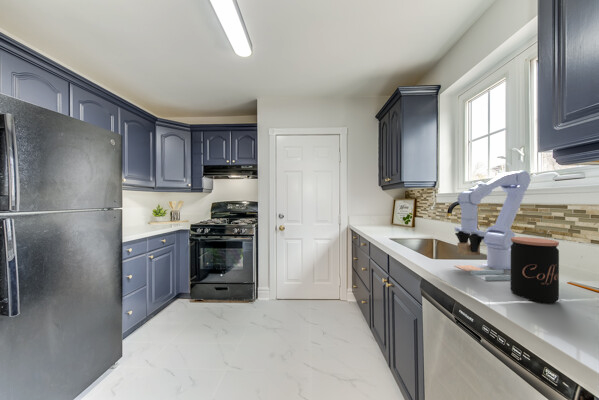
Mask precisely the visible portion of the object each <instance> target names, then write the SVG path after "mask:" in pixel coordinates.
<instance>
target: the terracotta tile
mask: <svg viewBox="0 0 599 400" xmlns="http://www.w3.org/2000/svg"><path fill="white" fill-rule="evenodd" d="M454 267H455V268H458V269H460V270H462V271H464V272H471V271H472V270H484V268H483V269H482V268H479V267H477V266H474V265H472V264H471V265H470V264H469V265H454Z"/></svg>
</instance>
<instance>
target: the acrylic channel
mask: <svg viewBox="0 0 599 400" xmlns="http://www.w3.org/2000/svg"><path fill="white" fill-rule="evenodd" d="M504 270H505V269H483V270H472V271H470V275H471V276H473V277H477V278H478V279H480V280H484V281H511V274H510V275H506V274H505V275H503V274H504V273H505V272H504Z"/></svg>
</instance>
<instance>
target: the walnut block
mask: <svg viewBox="0 0 599 400" xmlns="http://www.w3.org/2000/svg"><path fill="white" fill-rule="evenodd" d="M457 254H461V255H463V256H480V255H481V244H480V245H479V248H478V251H477V252H472V251H471V244H470V241H468V242H457Z"/></svg>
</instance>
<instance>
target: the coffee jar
mask: <svg viewBox="0 0 599 400" xmlns="http://www.w3.org/2000/svg"><path fill="white" fill-rule="evenodd" d="M511 241H512V242H513V244H512V245H511V269H510V275H511V280H510V291H511V292H512V294H514V295H516V296H518V297H521V298H523V299H526V300H527V301H528V302H532V303H538V304H547V305H553V304H556V302H558V301H559V299H560V298H559V297H560V294H559V292H560V250H559V249H558V248H557V247H558V246H559V243H560V241H558V240H555V239H554V240H553V239H547V238H541V237H539V238H538V237H531V236H530V237H527V236H515V237H512V238H511Z"/></svg>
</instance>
